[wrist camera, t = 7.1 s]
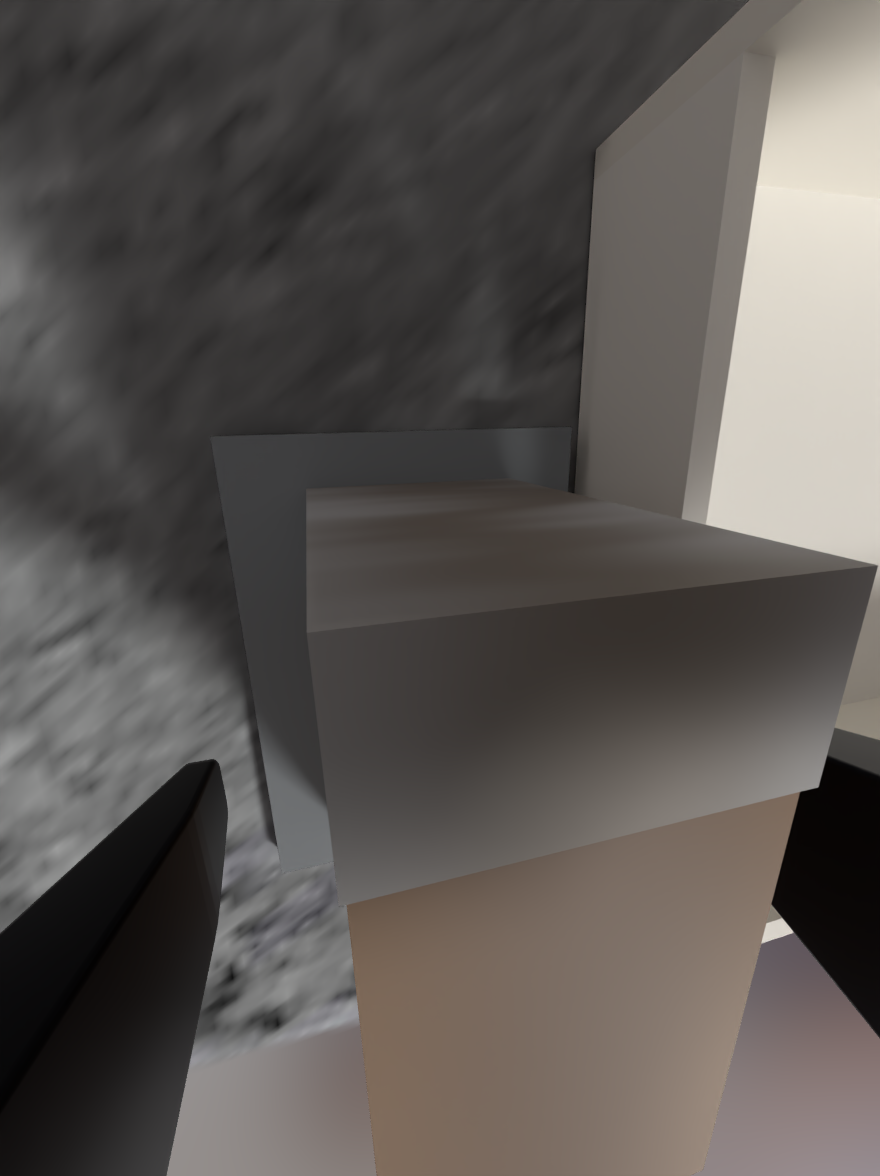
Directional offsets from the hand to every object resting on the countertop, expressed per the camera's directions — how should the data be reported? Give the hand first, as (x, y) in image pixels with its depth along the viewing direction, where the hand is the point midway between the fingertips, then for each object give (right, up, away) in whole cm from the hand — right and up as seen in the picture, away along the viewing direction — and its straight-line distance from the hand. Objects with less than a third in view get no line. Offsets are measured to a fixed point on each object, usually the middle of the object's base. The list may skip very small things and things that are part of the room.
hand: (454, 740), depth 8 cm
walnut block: (-1, +1, +3) cm, 3 cm away
